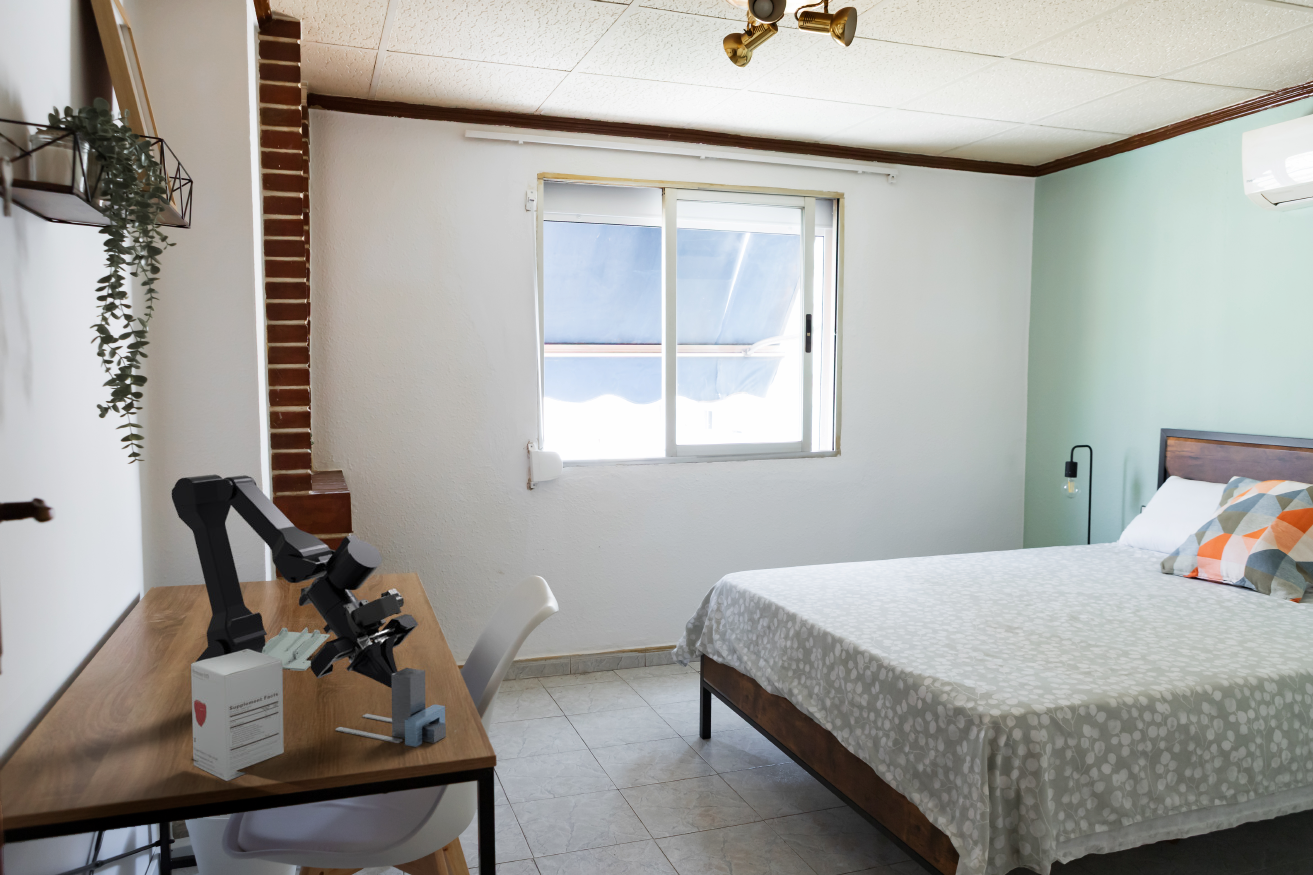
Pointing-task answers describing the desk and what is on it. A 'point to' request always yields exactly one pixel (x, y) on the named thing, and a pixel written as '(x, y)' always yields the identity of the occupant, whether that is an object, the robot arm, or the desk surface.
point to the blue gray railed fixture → (406, 725)
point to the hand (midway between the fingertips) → (397, 686)
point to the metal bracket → (294, 647)
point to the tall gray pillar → (412, 704)
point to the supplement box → (236, 711)
